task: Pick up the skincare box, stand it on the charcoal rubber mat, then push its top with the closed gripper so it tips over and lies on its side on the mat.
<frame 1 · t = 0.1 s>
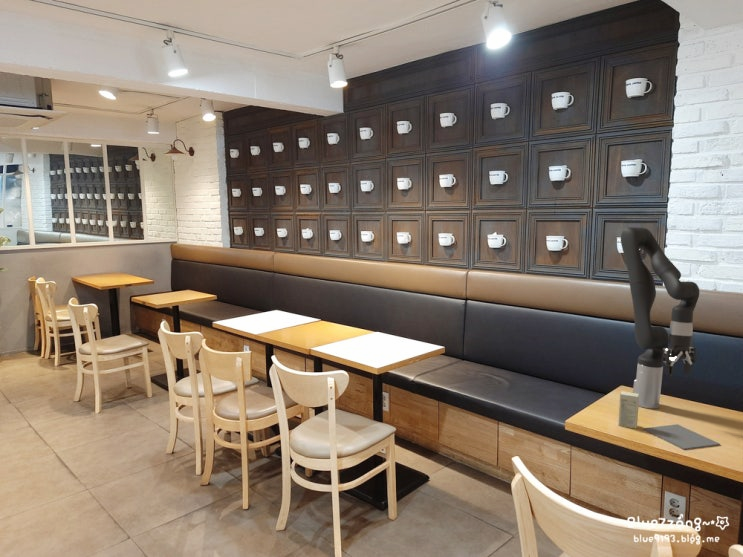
hand: (677, 374, 198), 17 cm above the table, tool pointing down, fingers open, 8 cm apart
skincare box: (627, 425, 190), on the table
mat: (680, 437, 181), on the table
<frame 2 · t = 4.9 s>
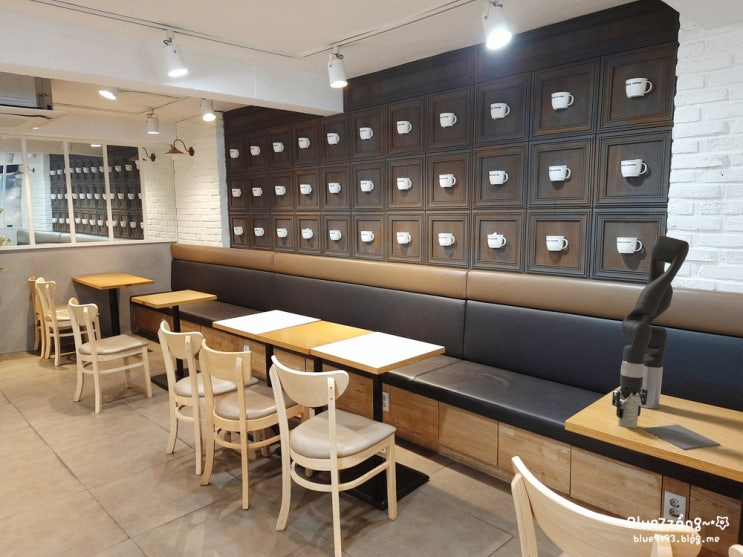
hand: (628, 416, 190), 3 cm above the table, tool pointing down, fingers closed on skincare box, 7 cm apart
skincare box: (627, 425, 190), on the table, touching gripper
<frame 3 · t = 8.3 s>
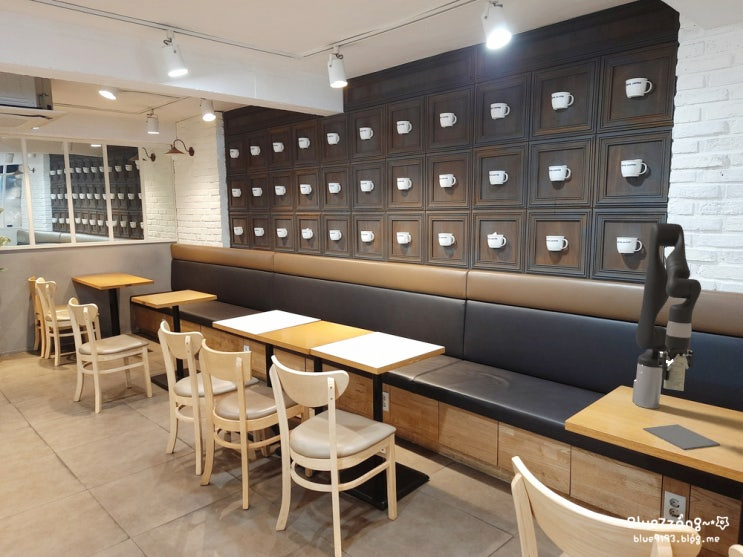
hand: (673, 379, 183), 20 cm above the table, tool pointing down, fingers closed on skincare box, 7 cm apart
skincare box: (673, 388, 184), point 16 cm above the table, touching gripper
when the fingers open (5 cm above the table, at t = 12.0 s): skincare box stays where it is, resting on mat.
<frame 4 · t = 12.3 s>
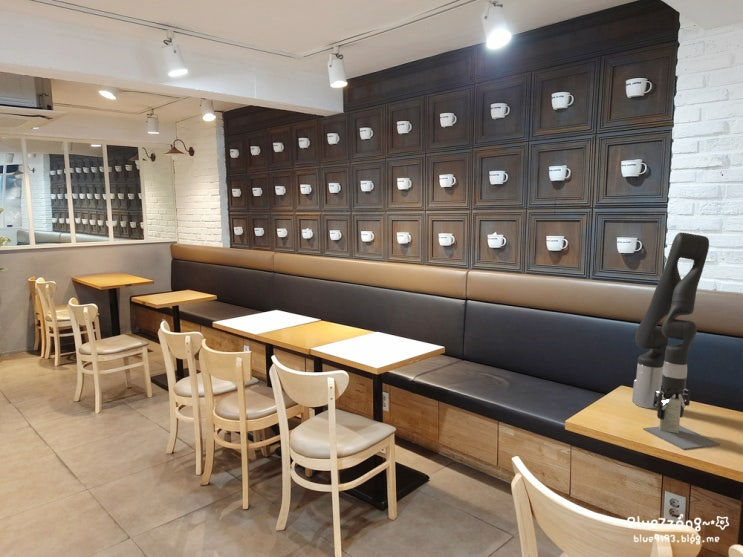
hand: (669, 417, 185), 5 cm above the table, tool pointing down, fingers open, 8 cm apart
skincare box: (668, 430, 186), resting on mat
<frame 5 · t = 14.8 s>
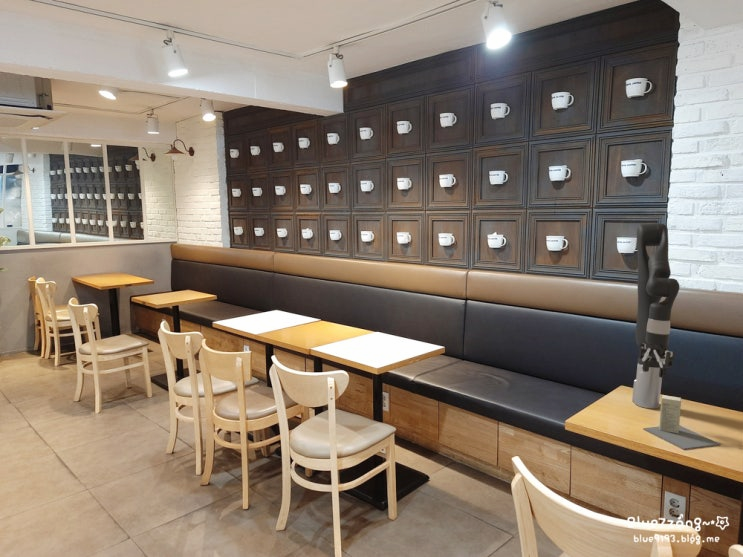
hand: (653, 374, 192), 19 cm above the table, tool pointing down, fingers open, 7 cm apart
nothing on the table moved.
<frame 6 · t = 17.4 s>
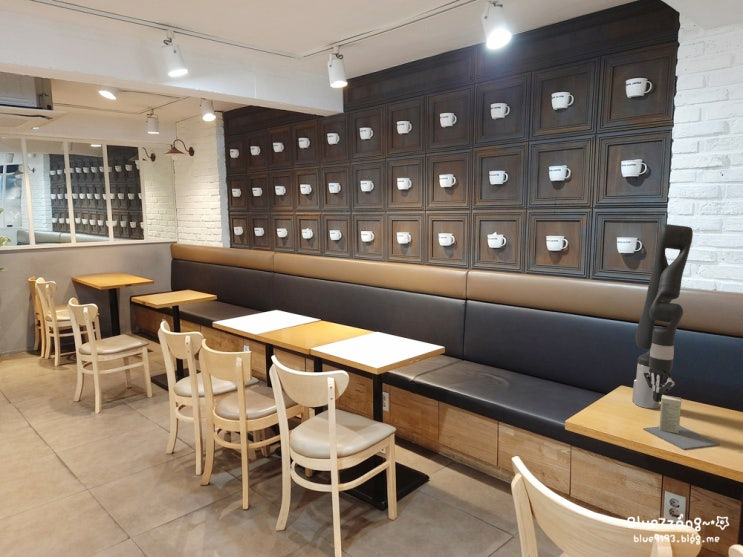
hand: (656, 401, 190), 9 cm above the table, tool pointing down, fingers closed
skincare box: (668, 430, 186), resting on mat, touching gripper
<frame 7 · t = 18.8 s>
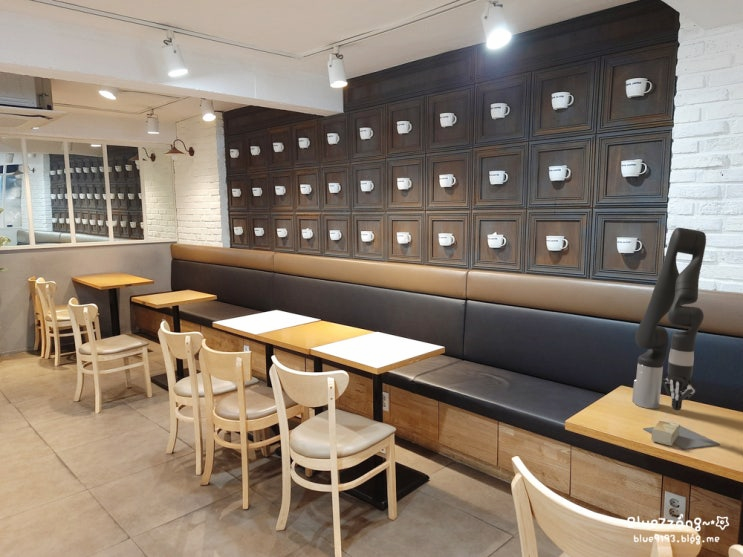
hand: (676, 409, 182), 9 cm above the table, tool pointing down, fingers closed
skincare box: (669, 426, 183), point 3 cm above the table, touching mat
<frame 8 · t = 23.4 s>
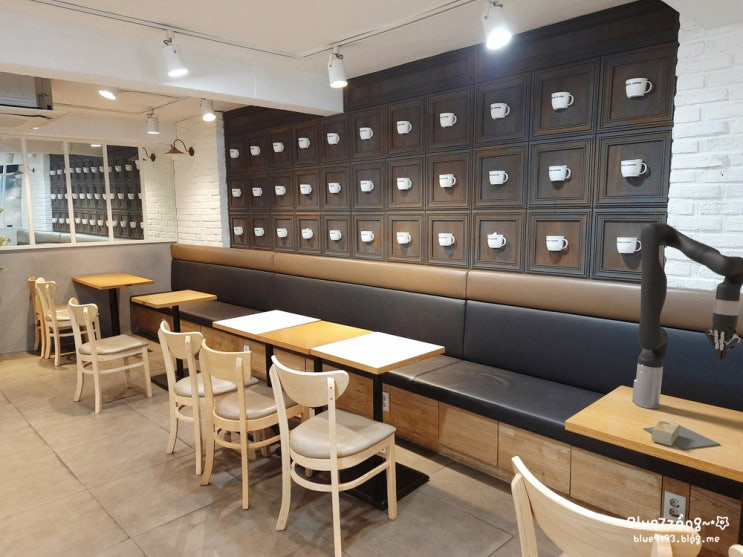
hand: (720, 359, 183), 27 cm above the table, tool pointing down, fingers closed
nothing on the table moved.
at the end: skincare box tilted 90°; skincare box inside the target area (3.7 cm from its centre), point 2.7 cm above the table; skincare box touching mat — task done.
